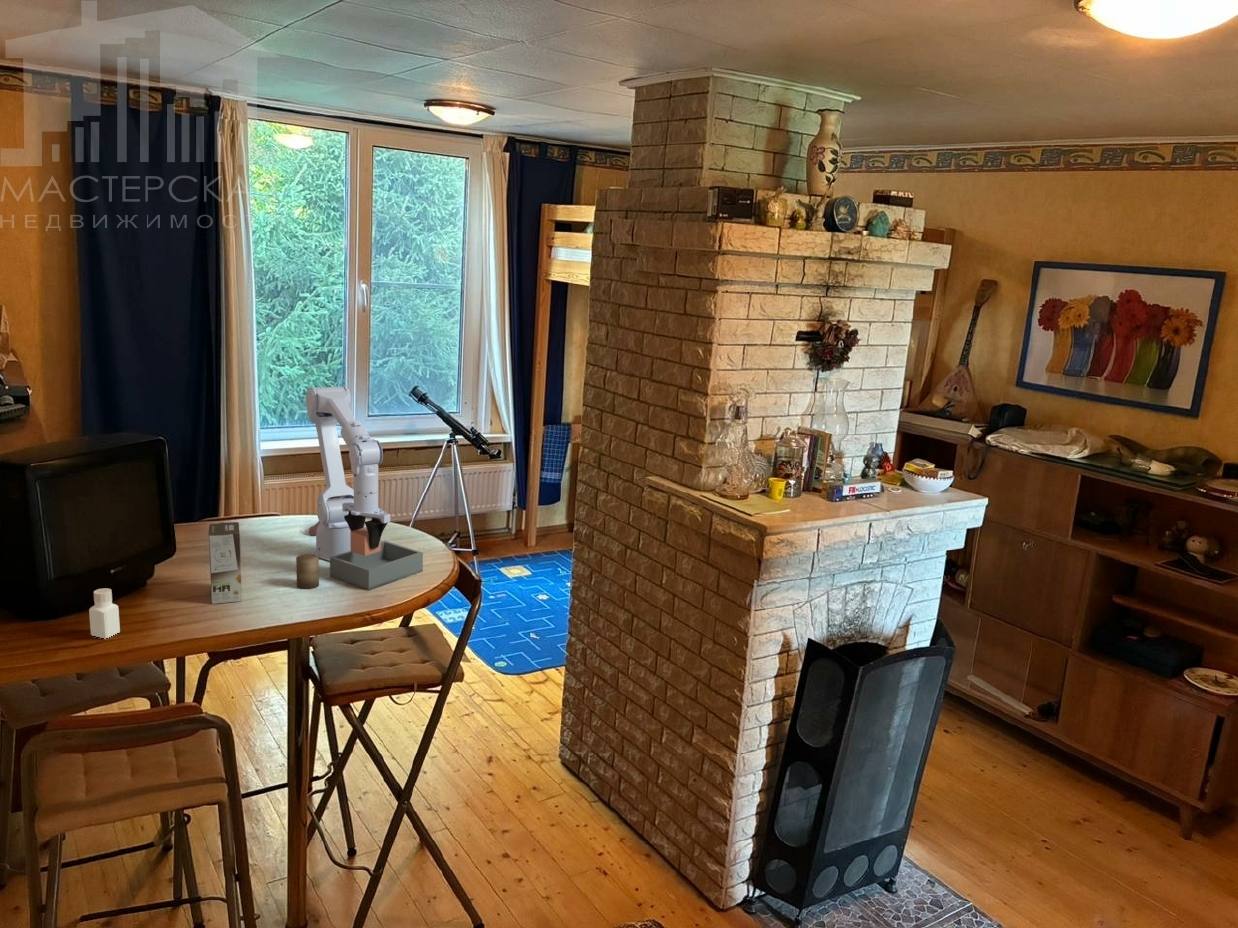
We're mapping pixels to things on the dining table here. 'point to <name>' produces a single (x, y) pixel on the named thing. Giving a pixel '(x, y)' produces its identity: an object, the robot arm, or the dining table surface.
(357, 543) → the cube
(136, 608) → the dining table surface
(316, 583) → the cylinder
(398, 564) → the tote
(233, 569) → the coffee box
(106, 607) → the white pill bottle
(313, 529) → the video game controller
